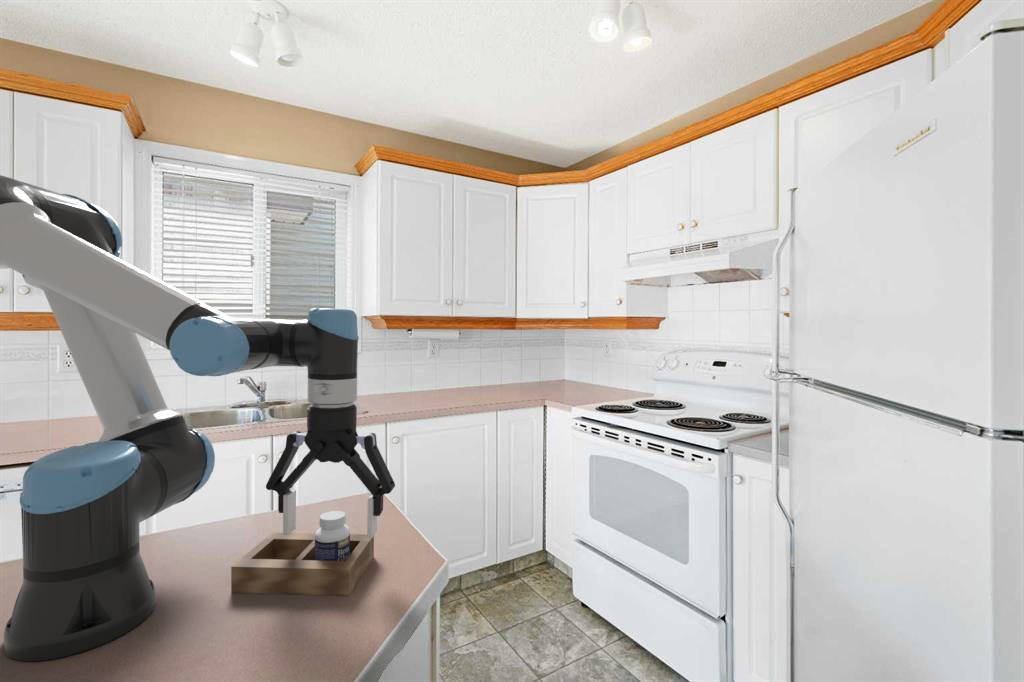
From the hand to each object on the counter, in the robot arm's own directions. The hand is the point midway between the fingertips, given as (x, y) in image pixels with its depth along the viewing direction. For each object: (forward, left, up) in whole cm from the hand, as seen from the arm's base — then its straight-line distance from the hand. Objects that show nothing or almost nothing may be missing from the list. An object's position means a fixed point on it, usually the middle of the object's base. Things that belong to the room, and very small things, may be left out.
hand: (330, 533), depth 78 cm
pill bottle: (0, 0, -7) cm, 7 cm away
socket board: (-4, 0, -7) cm, 8 cm away
